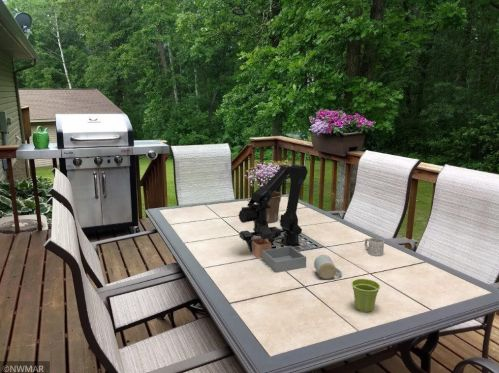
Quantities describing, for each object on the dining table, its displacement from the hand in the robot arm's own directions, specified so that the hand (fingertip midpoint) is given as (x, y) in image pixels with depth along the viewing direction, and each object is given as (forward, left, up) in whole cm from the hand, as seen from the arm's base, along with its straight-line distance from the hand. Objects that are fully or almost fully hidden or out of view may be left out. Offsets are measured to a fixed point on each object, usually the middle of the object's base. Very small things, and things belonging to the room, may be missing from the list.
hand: (260, 251), depth 184 cm
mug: (-49, +19, -1) cm, 53 cm away
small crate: (0, 0, -1) cm, 1 cm away
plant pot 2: (-13, +59, -1) cm, 60 cm away
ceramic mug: (-16, +32, -1) cm, 36 cm away
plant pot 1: (-25, -46, -1) cm, 52 cm away
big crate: (-5, +15, -1) cm, 16 cm away
